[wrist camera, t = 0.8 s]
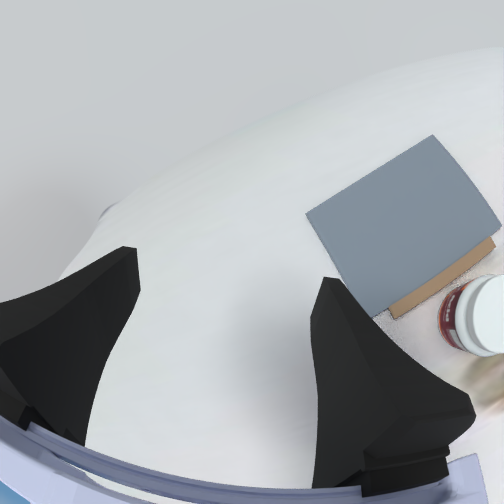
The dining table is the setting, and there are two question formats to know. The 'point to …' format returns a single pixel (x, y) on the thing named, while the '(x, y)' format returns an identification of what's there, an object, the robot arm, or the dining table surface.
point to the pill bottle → (475, 316)
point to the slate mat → (406, 229)
